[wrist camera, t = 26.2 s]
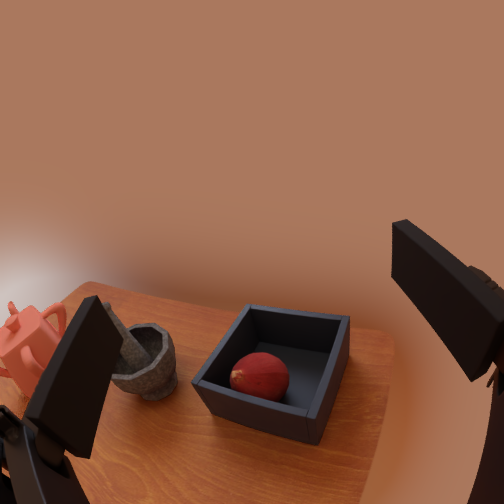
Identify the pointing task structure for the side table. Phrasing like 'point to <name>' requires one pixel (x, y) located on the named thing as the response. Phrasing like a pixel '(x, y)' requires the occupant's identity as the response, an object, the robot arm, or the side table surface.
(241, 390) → the onion
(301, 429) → the dark blue open box
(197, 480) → the side table surface
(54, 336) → the teapot
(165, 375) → the mortar and pestle
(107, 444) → the side table surface
